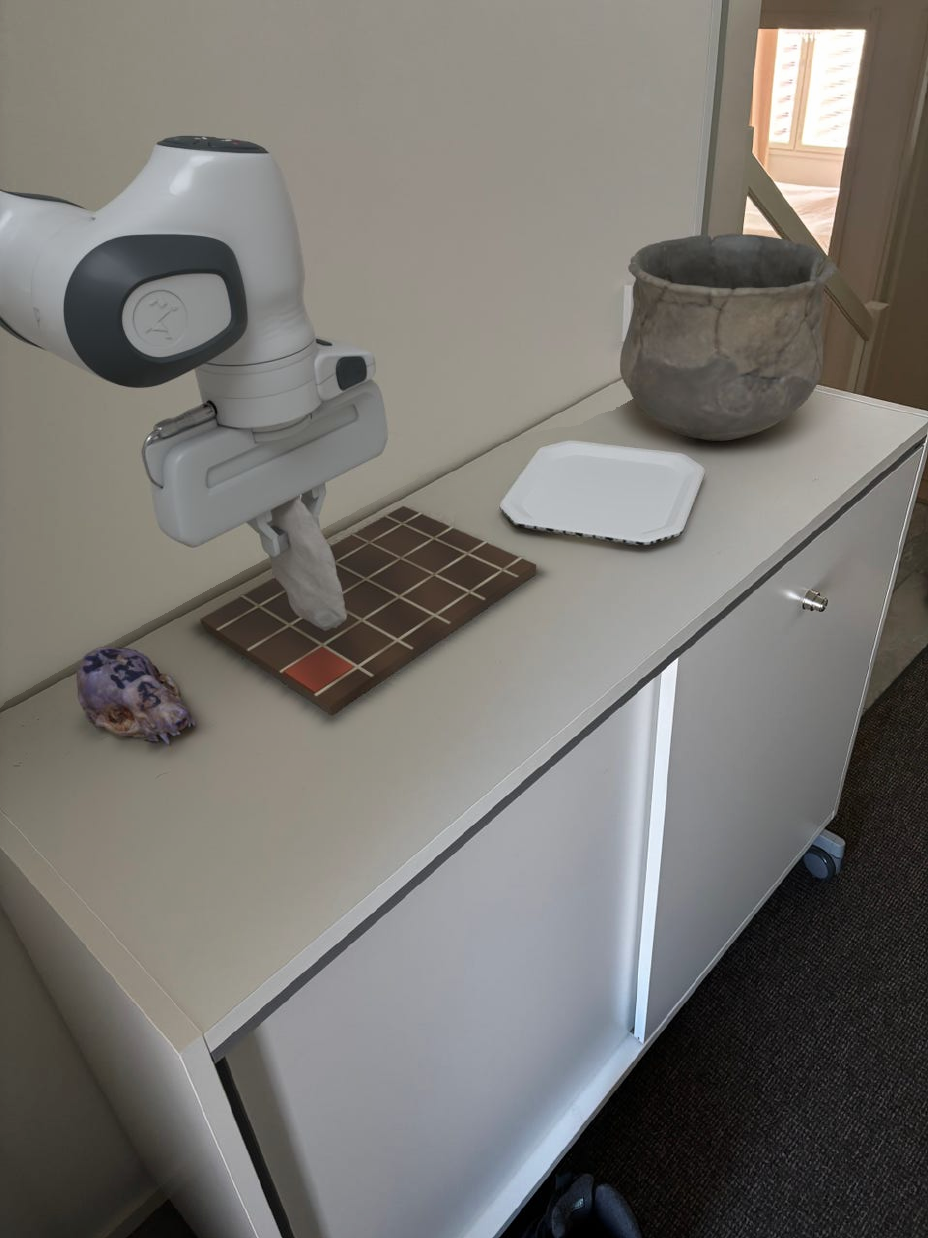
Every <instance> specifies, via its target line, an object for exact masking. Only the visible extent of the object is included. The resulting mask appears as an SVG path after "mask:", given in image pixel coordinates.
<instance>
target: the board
mask: <svg viewBox="0 0 928 1238" xmlns="http://www.w3.org/2000/svg"><path fill="white" fill-rule="evenodd" d="M329 546H330V548H331V551H332V554H333V557H334V559H335V565H336V570H337V571H336V573H337V577H338V579H339V581H340V583H341V587H342V592H343V599H344V602H345V609H346V612H347V619H346V620H344V621H343V622H341V624H340V625H338V626H337V628H334V627H332V628H330V629H328V630H326V631H325V630H323V629H321V628H319V627H317V626H316V625H314V624H312V623H311V622H309V621H307V620H305V619H303V618H301V617H299V616H298V615H297V614H296V613H295V612H294V610H293V609H292V607H291V606H290V603H289V598H288V594H287V592H286V590H285V588H284V587H283V586H282V585H281V584H280V582H279V581H277V580H276V579H275V577H273V578H271V579H269V580H268V581H266V582H264V583H261V584H260V585H259V586H257V587H255V588H254V589H251V590H249V591H248V592H246V593H244V594H240V595H239V596H238V597H237V598H235V599H233V600H231V601H230V602H228V603H226V604H224V605H222V606H221V607H219V608H217V609H215V610H214V611H212V612H210V613H209V614H207V615H204V616H203V617H201V618H200V623H201V626H202V629H203V630H205V631H206V632H208V633H209V634H211V635H212V636H214V638H217V640H219V641H221V642H222V643H224V644H226V645H227V646H229V647H230V648H231V649H233V650H234V651H236V652H237V653H239V654H240V655H242V656H243V657H245V658H246V659H248V660H249V661H250V662H252V663H254V664H255V665H256V666H258V667H260V668H261V669H263V670H264V671H265V672H267V673H268V674H270V675H271V676H272V677H274V678H276V679H277V680H278V681H280V682H281V683H283V684H284V685H286V686H288V687H289V688H291V689H292V690H294V692H297V693H298V695H301V696H303V697H304V698H305V699H307V700H308V701H309V702H311V703H313V704H314V705H316V706H317V707H318V708H320V709H321V710H323V711H324V712H326V713H327V714H329V715H331V716H333V715H335V714H336V713H338V712H339V711H341V710H342V709H343V708H345V707H346V706H348V705H349V704H351V703H352V702H354V701H355V700H357V699H358V698H360V697H361V696H363V694H365V693H366V692H368V691H369V690H371V689H373V688H374V687H375V686H376V685H378V684H379V683H381V682H383V681H384V680H385V679H387V678H388V677H389V676H391V675H393V674H394V673H396V672H397V671H398V670H400V669H401V668H403V667H404V666H406V665H407V664H408V663H410V662H412V661H413V660H414V659H416V658H417V657H418V656H420V655H421V654H423V653H425V652H426V651H427V650H429V649H430V648H432V647H433V646H435V645H436V644H438V643H439V642H441V641H442V640H443V639H444V638H446V637H448V636H449V635H450V634H452V633H454V632H455V631H456V630H458V629H459V628H460V627H462V626H463V625H466V623H468V622H469V621H470V620H472V619H474V618H475V617H477V616H478V615H479V614H480V613H482V612H484V611H485V610H487V609H488V608H489V607H491V606H492V605H493V604H495V603H497V601H500V600H501V599H502V598H503V597H505V596H506V595H508V594H509V593H511V592H512V591H514V590H515V589H517V588H518V587H519V586H521V585H522V584H524V583H526V582H527V581H528V580H530V579H531V578H532V577H534V576H536V575H537V564H536V563H534V562H532V561H529V560H527V559H524V558H523V557H522V556H518V555H516V554H513V553H511V552H508V551H507V550H504V549H501V548H499V547H497V546H496V545H493V544H491V543H489V542H488V541H486V540H484V541H483V540H481V539H479V538H478V537H475V536H472V535H471V534H468V533H465V532H464V531H461V530H459V529H458V528H455V527H454V526H449V525H448V524H445V523H443V522H441V521H438V520H437V519H435V518H432V517H430V516H427V515H425V514H424V513H422V512H418V511H416V510H414V509H412V508H409V507H407V506H405V505H402V506H400V507H398V508H396V509H395V510H393V511H392V512H389V513H388V514H384V515H383V516H382V517H380V518H379V519H377V520H375V521H373V522H371V523H370V524H368V525H366V526H364V527H362V528H361V529H359V530H357V531H355V532H354V533H350V535H348V536H347V537H345V538H343V539H341V540H339V541H337V542H336V543H334V544H331V545H329Z"/></svg>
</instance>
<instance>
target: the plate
mask: <svg viewBox="0 0 928 1238" xmlns="http://www.w3.org/2000/svg"><path fill="white" fill-rule="evenodd" d="M705 474H706V469H705V468H704V467H703V466H702V465H700V463H698V462H696V461H695V460H693V459H692V458H691V457H689V456H687V455H686V454H684V453H681V452H673V451H665V450H657V449H649V448H641V447H640V448H639V447H631V446H624V445H623V446H622V445H615V444H614V445H613V444H605V443H597V442H588V441H579V440H572V439H571V440H565V441H561V442H556V443H552V444H549V445H545V446H542V447H540V448H538V449H537V450H536V452H535V453H534V454H533V456H532V457H531V459H530V460H529V461H528V463H527V464H526V465H525V467H524V468H523V470H522V471H521V473H520V474H519V476H518V477H517V479H516V480H515V481H514V483H513V484H512V486H511V487H510V488H509V489H508V492H506V494H505V496H503V498H502V500H500V501H501V502H500V503H499V509H500V511H501V512H502V513H503V514H504V515H505V516H506V518H508V519H509V520H510V521H511V523H513V524H514V525H516V526H517V527H521V528H525V529H529V530H534V531H538V532H545V533H550V534H556V535H557V534H558V535H563V536H569V537H576V538H577V537H578V538H583V539H590V540H595V541H601V542H602V541H603V542H608V543H615V544H621V545H628V546H648V545H652V544H656V543H659V542H663V541H665V540H666V541H667V540H669V539H672V538H675V537H679V536H681V534H683V533H684V532H683V531H684V529H685V526H686V524H687V521H688V519H689V516H690V514H691V511H692V508H693V507H694V506H693V505H694V503H695V501H696V499H697V497H698V496H697V495H698V493H699V490H700V488H701V486H702V483H703V480H704V477H705Z"/></svg>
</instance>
